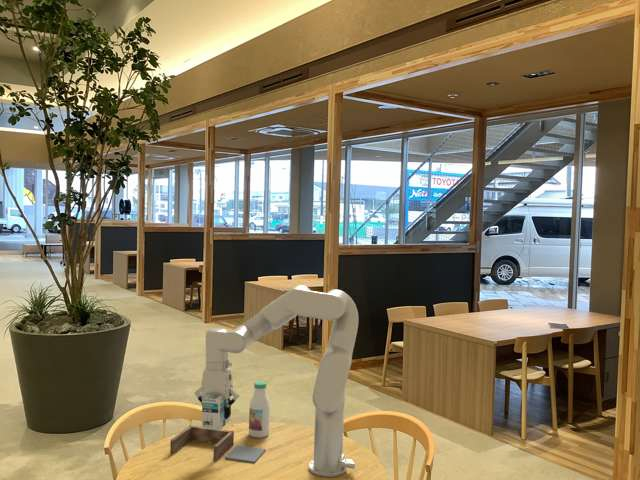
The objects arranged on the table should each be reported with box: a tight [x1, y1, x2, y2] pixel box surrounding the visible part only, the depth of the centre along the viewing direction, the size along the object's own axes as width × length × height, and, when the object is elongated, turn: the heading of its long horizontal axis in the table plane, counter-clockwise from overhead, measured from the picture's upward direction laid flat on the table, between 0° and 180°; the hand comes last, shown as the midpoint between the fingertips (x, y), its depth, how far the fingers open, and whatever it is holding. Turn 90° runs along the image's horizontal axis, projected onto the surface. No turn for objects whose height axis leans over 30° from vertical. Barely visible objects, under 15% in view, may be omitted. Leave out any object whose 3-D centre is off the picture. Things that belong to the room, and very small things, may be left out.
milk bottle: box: [248, 380, 271, 439], centre depth 223 cm, size 8×8×20 cm
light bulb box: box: [201, 395, 232, 430], centre depth 200 cm, size 11×7×11 cm, turn 169°
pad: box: [224, 444, 266, 464], centre depth 205 cm, size 11×11×1 cm
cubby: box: [169, 425, 235, 462], centre depth 208 cm, size 17×15×5 cm
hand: (216, 416), depth 200 cm, fingers closed on light bulb box, 6 cm apart
